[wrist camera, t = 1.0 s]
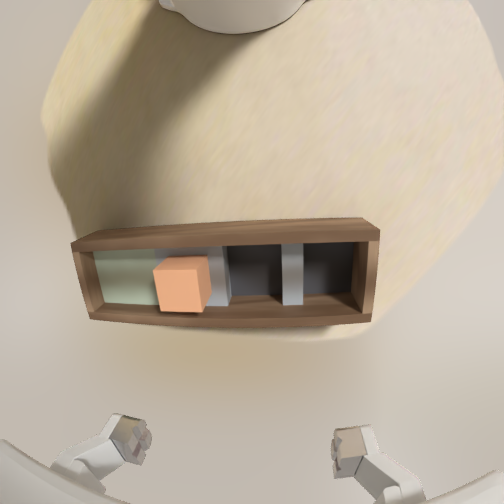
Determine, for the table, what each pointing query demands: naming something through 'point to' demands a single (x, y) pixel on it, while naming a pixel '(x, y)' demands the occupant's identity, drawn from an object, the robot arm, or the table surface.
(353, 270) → the box
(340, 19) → the table surface
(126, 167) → the table surface
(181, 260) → the block
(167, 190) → the table surface
